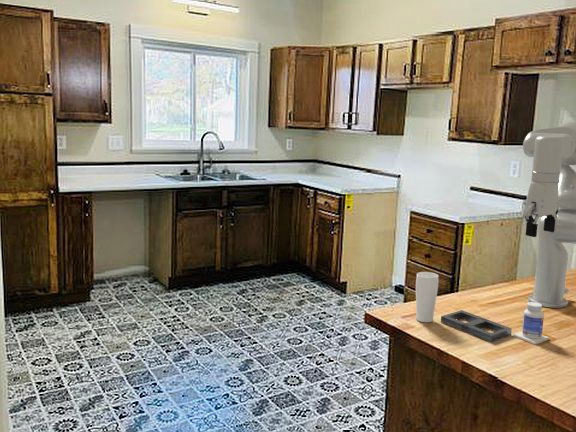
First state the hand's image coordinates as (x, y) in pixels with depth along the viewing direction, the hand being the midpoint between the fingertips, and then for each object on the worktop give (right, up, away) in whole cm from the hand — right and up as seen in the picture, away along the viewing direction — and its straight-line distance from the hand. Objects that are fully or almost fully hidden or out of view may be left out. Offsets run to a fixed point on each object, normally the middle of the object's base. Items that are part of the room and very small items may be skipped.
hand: (540, 233), depth 164 cm
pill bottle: (-5, -30, -4) cm, 31 cm away
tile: (-5, -31, -5) cm, 31 cm away
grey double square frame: (-19, -29, +2) cm, 35 cm away
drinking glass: (-33, -28, +8) cm, 44 cm away
